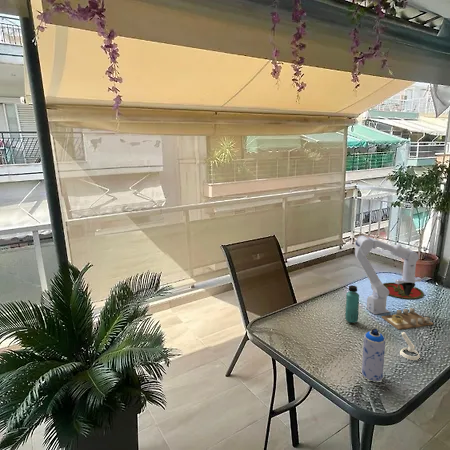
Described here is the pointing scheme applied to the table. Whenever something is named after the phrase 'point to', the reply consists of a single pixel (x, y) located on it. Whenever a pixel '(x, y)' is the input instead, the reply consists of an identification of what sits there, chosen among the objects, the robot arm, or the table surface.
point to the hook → (411, 348)
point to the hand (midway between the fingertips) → (407, 294)
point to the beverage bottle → (352, 304)
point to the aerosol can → (373, 355)
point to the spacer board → (408, 319)
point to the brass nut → (397, 318)
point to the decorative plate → (398, 292)
